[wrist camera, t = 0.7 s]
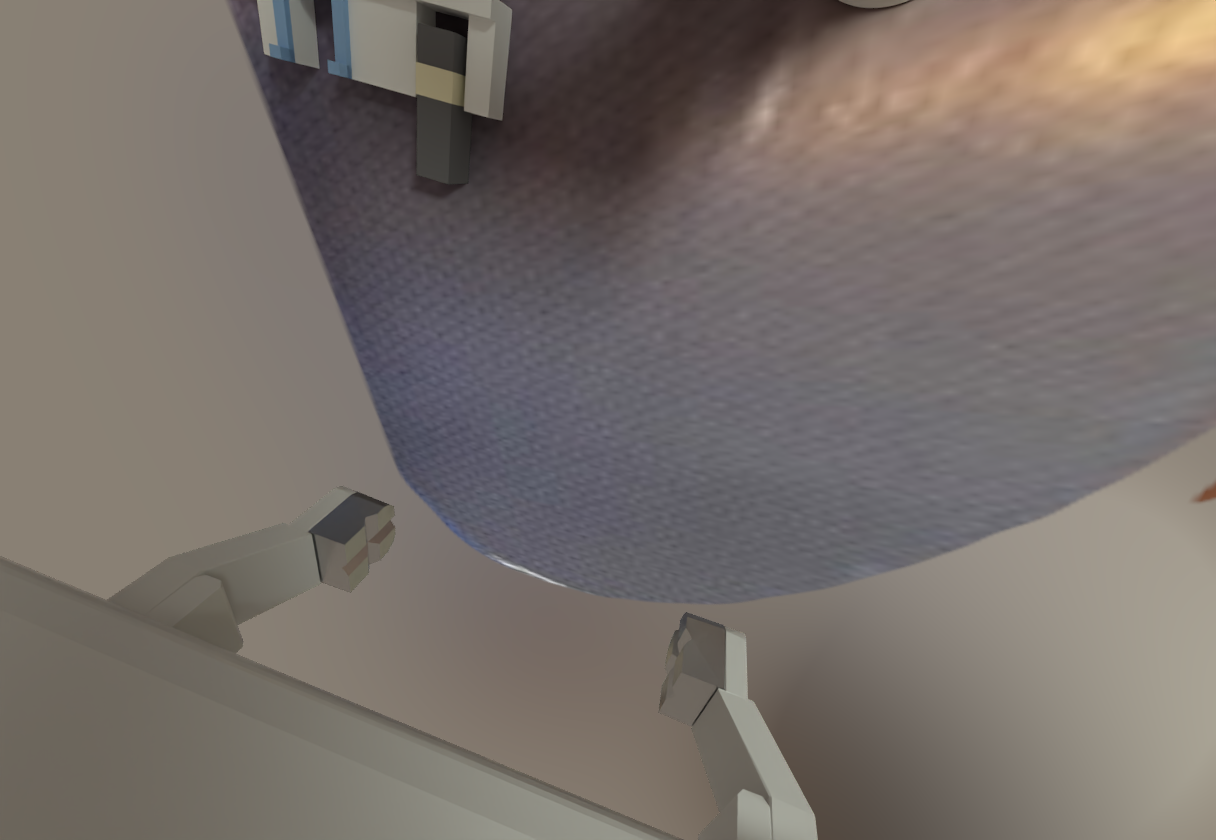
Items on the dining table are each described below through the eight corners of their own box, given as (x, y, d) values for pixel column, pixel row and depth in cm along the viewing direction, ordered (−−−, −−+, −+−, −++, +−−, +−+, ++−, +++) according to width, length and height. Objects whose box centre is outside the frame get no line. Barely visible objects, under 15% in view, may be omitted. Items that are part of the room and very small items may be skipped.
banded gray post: (441, 33, 43) (416, 21, 39) (477, 43, 42) (454, 32, 39) (437, 174, 49) (414, 174, 45) (469, 183, 49) (448, 184, 45)
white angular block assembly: (277, -52, 43) (231, -74, 39) (512, 9, 40) (488, -8, 36) (289, 60, 47) (249, 50, 43) (502, 120, 45) (479, 115, 41)
